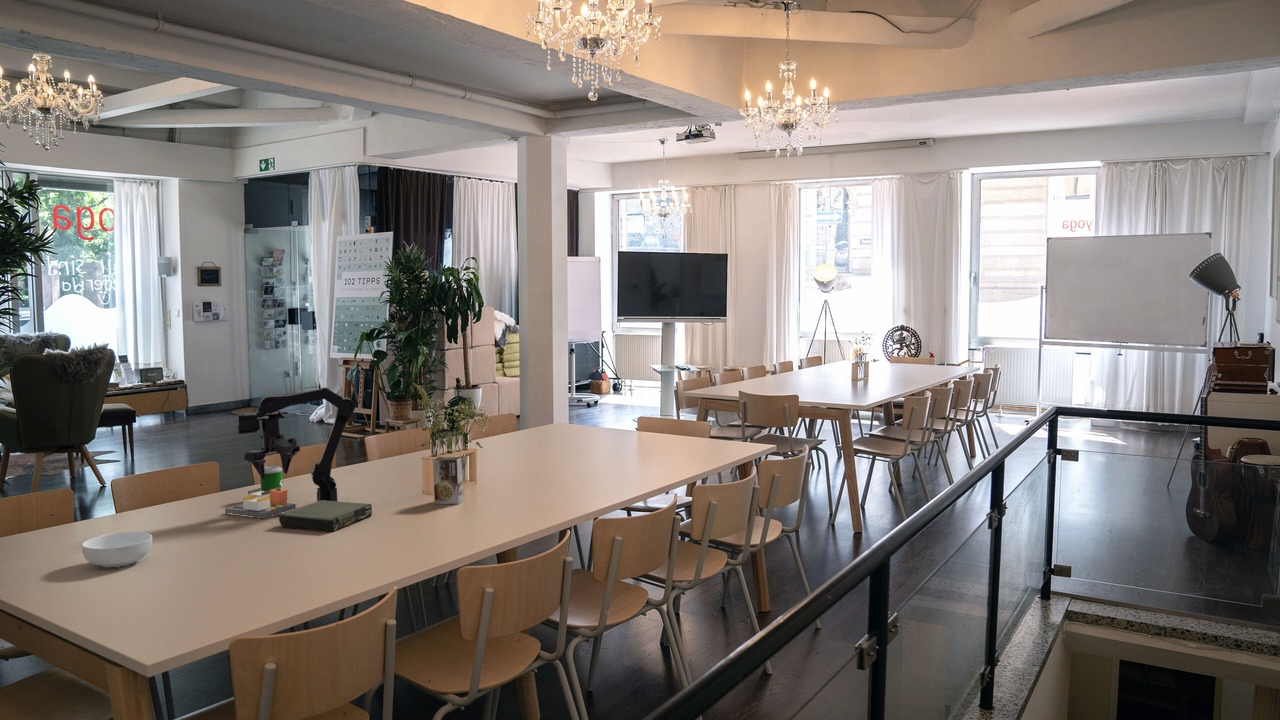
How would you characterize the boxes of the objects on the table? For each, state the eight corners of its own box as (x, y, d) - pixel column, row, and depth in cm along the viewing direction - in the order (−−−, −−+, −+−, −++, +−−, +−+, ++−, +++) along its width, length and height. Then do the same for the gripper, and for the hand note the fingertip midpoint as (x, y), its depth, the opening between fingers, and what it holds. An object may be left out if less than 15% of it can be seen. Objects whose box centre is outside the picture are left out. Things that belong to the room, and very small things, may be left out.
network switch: (339, 534, 274) (339, 518, 273) (273, 531, 279) (272, 515, 278) (376, 515, 297) (375, 501, 296) (314, 513, 301) (313, 499, 301)
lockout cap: (286, 503, 306) (287, 488, 305) (277, 506, 302) (278, 490, 301) (278, 501, 307) (279, 486, 306) (269, 503, 304) (270, 488, 303)
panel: (295, 509, 305) (295, 502, 305) (263, 519, 293) (263, 511, 292) (258, 505, 313) (258, 498, 313) (225, 514, 300) (225, 506, 300)
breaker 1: (274, 500, 309) (273, 489, 308) (262, 503, 304) (262, 492, 304) (260, 499, 312) (259, 488, 311) (248, 502, 307) (248, 490, 307)
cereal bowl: (74, 576, 234) (72, 550, 234) (94, 558, 250) (92, 534, 250) (144, 569, 239) (143, 544, 239) (159, 552, 255) (158, 529, 255)
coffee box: (464, 500, 316) (462, 456, 315) (458, 504, 310) (457, 459, 308) (439, 499, 317) (438, 456, 316) (433, 504, 310) (432, 459, 309)
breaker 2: (270, 507, 299) (269, 496, 298) (258, 510, 294) (257, 499, 294) (255, 505, 301) (255, 494, 301) (243, 509, 297) (243, 497, 297)
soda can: (278, 501, 318) (276, 468, 318) (257, 501, 319) (256, 469, 318) (286, 496, 326) (285, 464, 325) (266, 496, 326) (265, 465, 325)
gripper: (263, 437, 290) (266, 483, 291) (309, 428, 306) (312, 472, 308) (241, 435, 295) (245, 481, 297) (287, 427, 312) (290, 470, 313)
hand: (274, 476), depth 303 cm, fingers open, 9 cm apart
